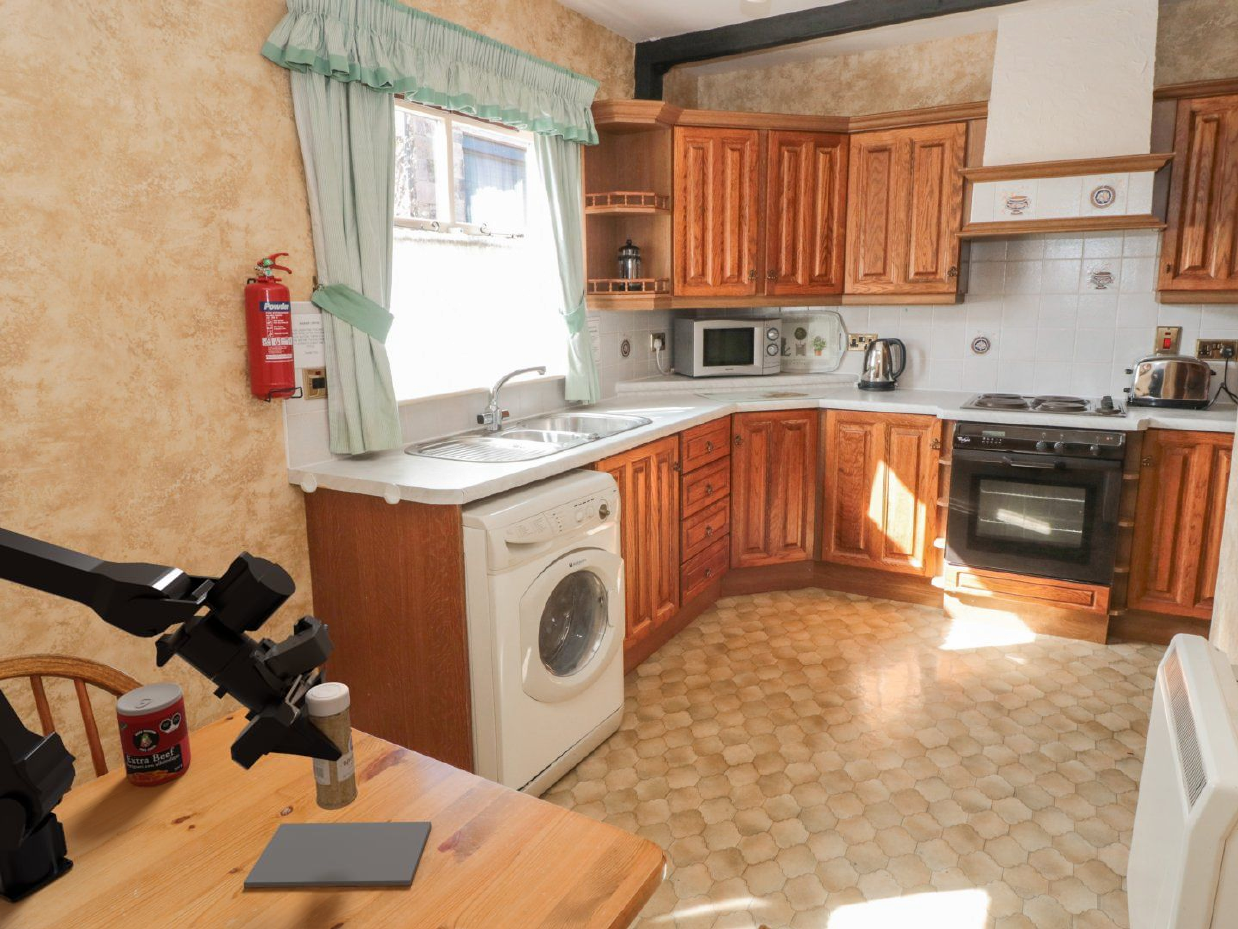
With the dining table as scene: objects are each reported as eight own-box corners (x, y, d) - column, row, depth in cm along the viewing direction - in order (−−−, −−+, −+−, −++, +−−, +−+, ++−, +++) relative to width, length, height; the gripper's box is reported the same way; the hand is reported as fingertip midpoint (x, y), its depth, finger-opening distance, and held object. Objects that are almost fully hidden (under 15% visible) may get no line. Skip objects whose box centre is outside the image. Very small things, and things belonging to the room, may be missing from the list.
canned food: (119, 793, 107) (106, 715, 104) (136, 760, 114) (125, 686, 112) (184, 782, 108) (173, 706, 106) (197, 751, 116) (187, 678, 114)
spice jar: (361, 804, 92) (352, 694, 89) (319, 817, 90) (308, 704, 87) (353, 783, 96) (344, 677, 93) (312, 794, 94) (301, 686, 91)
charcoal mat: (244, 887, 89) (243, 882, 89) (281, 828, 99) (280, 823, 99) (410, 885, 89) (410, 880, 89) (431, 826, 99) (431, 821, 99)
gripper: (252, 642, 79) (378, 741, 82) (305, 576, 97) (406, 659, 100) (175, 723, 80) (303, 817, 83) (242, 642, 98) (344, 722, 101)
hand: (344, 746), depth 92 cm, fingers closed on spice jar, 4 cm apart
